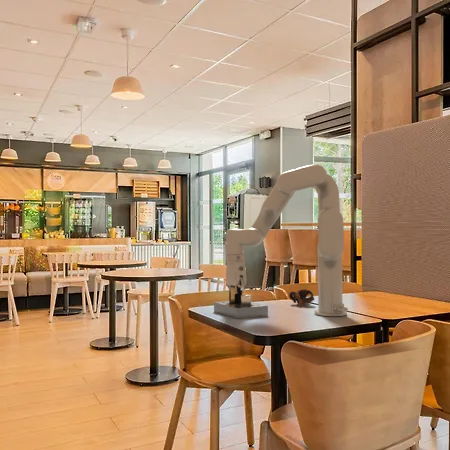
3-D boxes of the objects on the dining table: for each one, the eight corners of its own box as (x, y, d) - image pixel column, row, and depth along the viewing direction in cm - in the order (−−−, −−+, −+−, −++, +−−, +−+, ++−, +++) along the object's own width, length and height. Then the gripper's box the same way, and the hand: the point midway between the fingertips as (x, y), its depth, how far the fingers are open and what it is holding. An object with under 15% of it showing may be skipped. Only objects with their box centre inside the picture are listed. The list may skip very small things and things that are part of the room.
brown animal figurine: (315, 305, 219) (317, 290, 215) (309, 316, 212) (311, 302, 208) (291, 297, 224) (292, 283, 220) (283, 308, 216) (285, 294, 212)
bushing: (242, 307, 195) (241, 287, 195) (233, 307, 193) (233, 288, 193) (237, 305, 199) (237, 286, 199) (229, 306, 197) (228, 287, 197)
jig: (267, 315, 187) (267, 295, 187) (236, 318, 180) (236, 297, 180) (243, 309, 204) (242, 290, 205) (214, 311, 198) (213, 292, 198)
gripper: (253, 259, 191) (253, 304, 190) (233, 257, 206) (234, 299, 205) (236, 259, 187) (237, 305, 187) (218, 258, 202) (218, 300, 202)
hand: (235, 302), depth 196 cm, fingers closed on bushing, 4 cm apart
